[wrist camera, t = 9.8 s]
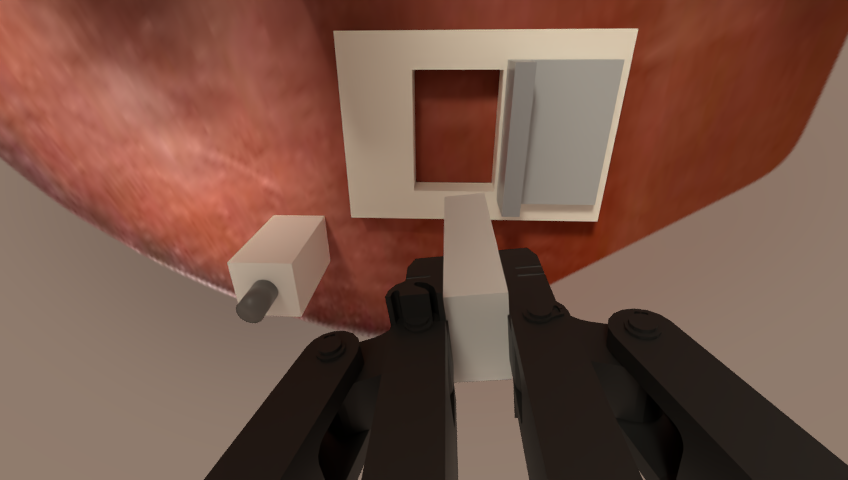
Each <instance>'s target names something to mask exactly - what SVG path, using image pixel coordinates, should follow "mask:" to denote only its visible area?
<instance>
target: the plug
mask: <svg viewBox="0 0 848 480" xmlns="http://www.w3.org/2000/svg"><path fill="white" fill-rule="evenodd" d="M329 263H330V253H329V245H328V238H327V230H326V223H325V216H299V215H273V216H272V217H271V218H270V219H269V220H268V221H267V222H266V223H265V224H264V226H263V227H262V228H261V229H260V230H259V231H258V232H257V233H256V234H255V235H254V236H253V237H252V238H251V239H250V240H249V241H248V242H247V243H246V244H245V245H244V246H243V247H242V248H241V249H240V250H239V251H238V252H237V253H236V254H235V255H234V256H233V257H232V258H231V259H230V260H229V261H228V262H227V264H228V267H229V271H230V275H231V279H232V282H233V286H234V290H235V293H236V297H237V301H238V305H237V307H236V312H237V314H238V316H239V317H240V318H241V319H243V320H244V321H246V322H250V323H257V322H260V321H261V320H262V319H263V318H264V316H288V317H301V316H302V315H303V313H304V311H305V309H306V307H307V305H308V303H309V301H310V299H311V297H312V295H313V294H314V292H315V290H316V288H317V286H318V284H319V282H320V280H321V278H322V276H323V274H324V273H325V271H326V269H327V267H328V265H329Z"/></svg>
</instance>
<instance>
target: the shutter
mask: <svg viewBox="0 0 848 480" xmlns="http://www.w3.org/2000/svg"><path fill="white" fill-rule="evenodd" d="M623 65H624V60H623V59H508V66H507V78H506V90H505V102H504V114H503V126H502V138H501V150H500V162H499V174H498V186H497V199H496V200H497V203H498V207H499V210H500V213H501V216H502V217H520V208H521V204H559V205H595V202H596V197H597V192H598V187H599V182H600V177H601V173H602V168H603V163H604V158H605V153H606V148H607V143H608V138H609V133H610V129H611V124H612V119H613V114H614V109H615V104H616V99H617V94H618V90H619V85H620V80H621V75H622V70H623Z"/></svg>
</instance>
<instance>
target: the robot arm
mask: <svg viewBox="0 0 848 480" xmlns="http://www.w3.org/2000/svg"><path fill="white" fill-rule="evenodd" d="M385 299H386V304H387V308H388V313H389V318H390V323H391V328H390V330H389V331H387V332H386V333H384V334H382V335H380V336H377V337H375V338H372V339H368V340H365V341H362V342H359V340H358V338H357V337H356V336H355V335H354V334H353V333H350V332H346V331H334V332H330V333H327V334H323V335H322V336H320V337H318V338H316V339H314V340H313V341H312V342H311V343H310V344H309V345H308V346H307V347H306V348H305V349H304V351H303V352H302V353H301V355H300V356H299V357H298V359H297V360H296V361H295V362H294V364H293V365H292V366H291V367H290V369H289V370H288V372H287V373H286V374H285V375H284V377H283V378H282V379H281V381H280V382H279V383H278V384H277V386H276V387H275V388H274V390H273V391H272V392H271V393H270V395H269V396H268V397H267V399H266V400H265V401H264V402H263V404H262V405H261V406H260V408H259V409H258V410H257V412H256V413H255V414H254V415H253V417H252V418H251V419H250V421H249V422H248V423H247V424H246V426H245V427H244V428H243V430H242V431H241V432H240V434H239V435H238V436H237V437H236V439H235V440H234V441H233V443H232V444H231V445H230V447H229V448H228V449H227V451H226V452H225V453H224V454H223V455H222V457H221V458H220V459H219V461H218V462H217V463H216V465H215V466H214V467H213V468H212V470H211V471H210V472H209V474H208V475H207V476H206V477H205V479H204V480H358V477H359V475H360V473H361V470H362V468H363V465H364V469H363V474H362V479H361V480H458V459H457V423H456V397H455V390H454V383H456V382H474V381H491V380H509V379H510V380H511V379H512V376H513V382H514V406H515V407H514V408H515V418H518V420H519V426H520V432H521V437H522V442H523V448H524V453H525V459H526V464H527V470H528V475H529V480H643V479H642V477H641V475H640V472H641V474H642V475H643V477H644V478H645V479H646V480H848V465H847V464H845V463H844V462H843V461H842V460H840V459H839V458H838V457H837V456H836V455H834V454H833V453H832V452H831V451H829V450H828V449H827V448H826V447H825V446H823V445H822V444H821V443H820V442H818V441H817V440H816V439H815V438H813V437H812V436H811V435H810V434H809V433H807V432H806V431H805V430H804V429H802V428H801V427H800V426H799V425H798V424H796V423H795V422H794V421H793V420H791V419H790V418H789V417H788V416H786V415H785V414H784V413H783V412H782V411H780V410H779V409H778V408H777V407H775V406H774V405H773V404H772V403H771V402H769V401H768V400H767V399H766V398H764V397H763V396H762V395H761V394H760V393H758V392H757V391H756V390H754V389H753V388H752V387H751V386H750V385H749V384H747V383H746V382H745V381H744V380H742V379H741V378H740V377H739V376H737V375H736V374H735V373H733V371H731V370H730V369H729V368H728V367H726V366H725V365H724V364H723V363H722V362H720V361H719V360H718V359H717V358H715V357H714V356H713V355H712V354H710V353H709V352H708V351H707V350H706V349H704V348H703V347H702V346H701V345H699V344H698V343H697V342H696V341H694V340H693V339H692V338H691V337H690V336H688V335H687V334H686V333H685V332H683V331H682V330H681V329H680V328H679V327H677V326H676V325H675V324H674V323H672V322H671V321H670V320H668V319H666V318H665V317H663V316H662V315H660V314H657V313H654V312H651V311H648V310H641V309H626V310H621V311H618V312H616V313H614V314H613V315H612V316H611V317H610V318H609V320H608V324H603V323H596V322H588V321H584V320H580V319H577V318H575V317H572V316H570V313H569V312H568V310H567V309H566V308H565V307H564V305H562V304H560V303H558V302H557V301H556V300H555V297H554V295H553V293H552V290H551V288H550V285H549V283H548V281H547V278H546V276H545V274H544V271H543V269H542V267H541V264H540V261H539V259H538V256H537V255H536V254H535V253H533V252H532V251H531V250H529V249H528V248H519V249H508V250H498V248H497V244H496V239H495V235H494V231H493V227H492V223H491V219H490V215H489V210H488V206H487V202H486V198H485V194H484V193H476V194H466V195H456V196H447V197H445V201H444V256H441V257H430V258H419V259H415V260H414V261H413V262H412V263H411V265H410V266H409V267H408V269H407V275H406V281H404V282H402V283H400V284H397V285H395V286H394V287H393V288H391V289H390V290H389V291H388V293H387V295H386V296H385ZM639 471H640V472H639Z"/></svg>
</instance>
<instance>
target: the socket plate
mask: <svg viewBox="0 0 848 480" xmlns="http://www.w3.org/2000/svg"><path fill="white" fill-rule="evenodd" d="M637 32H638V29H510V30H369V31H333V33H334V44H335V54H336V64H337V74H338V85H339V95H340V105H341V116H342V126H343V136H344V147H345V157H346V167H347V178H348V188H349V198H350V209H351V217H352V218H414V219H444V201H445V197H447V196H456V195H466V194H476V193H484V194H485V198H486V202H487V206H488V210H489V215H490V219H491V220H537V221H598V216H599V211H600V207H601V202H602V197H603V193H604V188H605V183H606V178H607V174H608V169H609V164H610V160H611V155H612V150H613V145H614V141H615V136H616V131H617V127H618V122H619V117H620V112H621V108H622V103H623V98H624V94H625V89H626V84H627V79H628V75H629V70H630V65H631V61H632V56H633V51H634V46H635V42H636V37H637ZM508 59H623V60H624V65H623V70H622V75H621V80H620V85H619V90H618V94H617V99H616V104H615V109H614V114H613V119H612V124H611V129H610V133H609V138H608V143H607V148H606V153H605V158H604V163H603V168H602V173H601V177H600V182H599V187H598V192H597V197H596V202H595V205H559V204H521V208H520V217H502V216H501V213H500V210H499V207H498V203H497V200H496V199H497V186H498V174H499V162H500V150H501V138H502V126H503V114H504V102H505V90H506V78H507V66H508ZM414 70H500V77H499V90H498V104H497V117H496V130H495V143H494V157H493V170H492V183H452V182H416V148H415V82H414Z"/></svg>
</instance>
